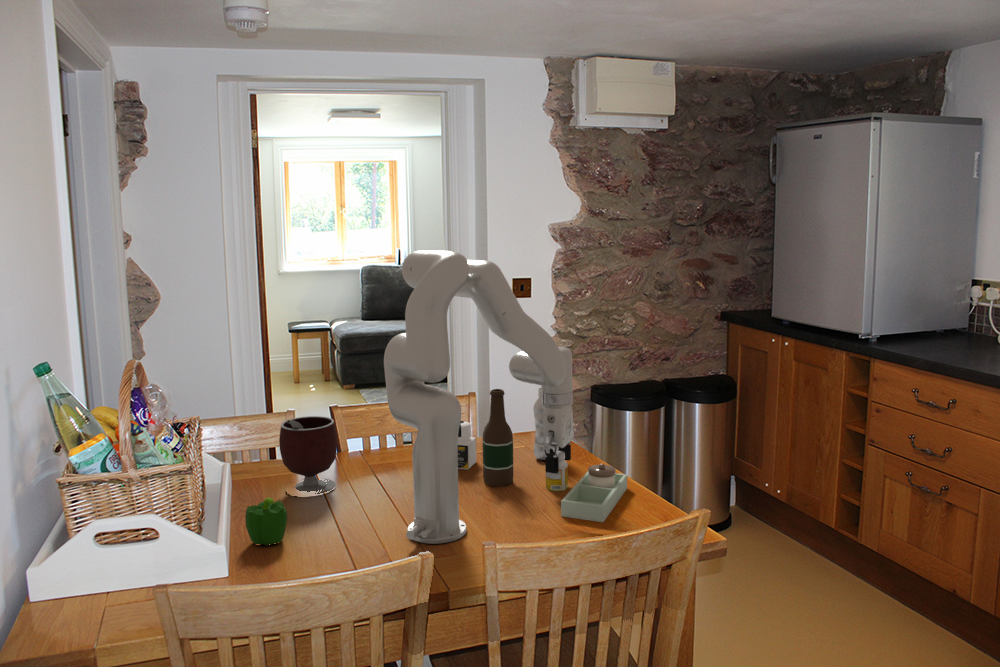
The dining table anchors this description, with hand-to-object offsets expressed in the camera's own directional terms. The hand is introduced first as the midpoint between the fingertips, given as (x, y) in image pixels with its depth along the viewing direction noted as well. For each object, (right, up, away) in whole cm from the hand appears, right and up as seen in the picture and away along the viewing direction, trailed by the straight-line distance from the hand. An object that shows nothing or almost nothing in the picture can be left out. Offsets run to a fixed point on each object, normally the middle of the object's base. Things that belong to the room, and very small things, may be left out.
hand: (558, 465), depth 185 cm
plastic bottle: (-2, -3, +26) cm, 26 cm away
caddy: (+8, -8, -9) cm, 14 cm away
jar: (+10, -6, -5) cm, 12 cm away
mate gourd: (-62, -7, +3) cm, 62 cm away
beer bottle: (-15, -6, +8) cm, 18 cm away
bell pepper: (-63, -11, -27) cm, 70 cm away
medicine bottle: (-25, -4, +21) cm, 33 cm away
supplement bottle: (0, -6, +1) cm, 7 cm away
